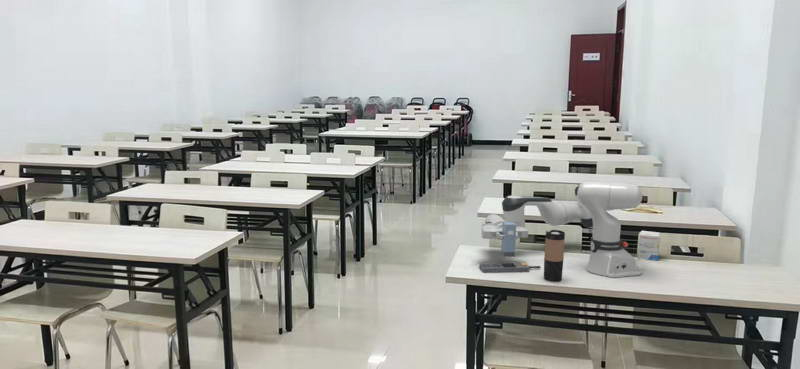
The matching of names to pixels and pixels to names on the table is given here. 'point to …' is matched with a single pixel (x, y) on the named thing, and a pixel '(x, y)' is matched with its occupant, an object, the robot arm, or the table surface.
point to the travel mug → (554, 255)
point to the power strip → (504, 267)
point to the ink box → (649, 245)
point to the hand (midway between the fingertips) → (509, 237)
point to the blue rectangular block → (508, 239)
